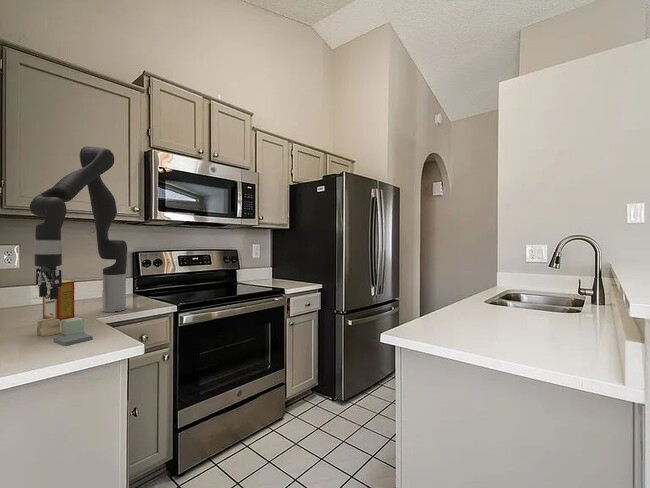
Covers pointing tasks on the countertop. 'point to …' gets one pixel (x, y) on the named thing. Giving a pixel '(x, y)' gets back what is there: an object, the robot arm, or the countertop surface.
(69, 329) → the sage block
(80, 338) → the base plate
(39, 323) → the oak block
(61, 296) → the baking soda box
